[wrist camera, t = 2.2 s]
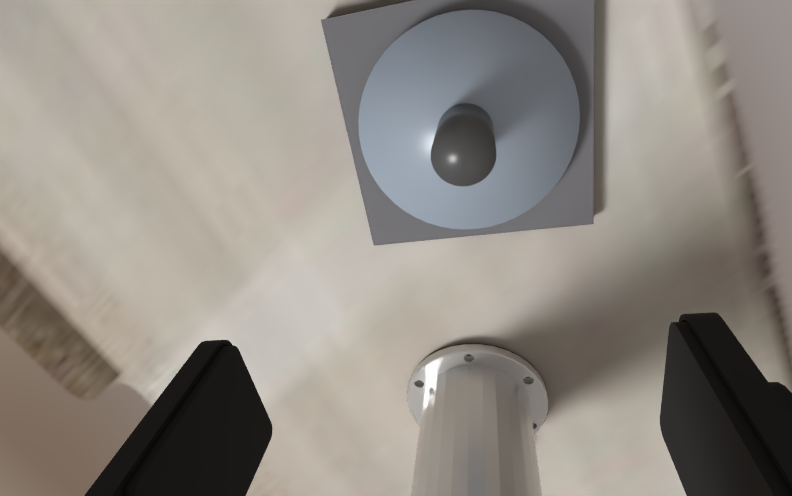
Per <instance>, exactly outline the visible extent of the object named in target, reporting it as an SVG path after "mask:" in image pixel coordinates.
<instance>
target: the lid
mask: <svg viewBox="0 0 792 496" xmlns="http://www.w3.org/2000/svg"><path fill="white" fill-rule="evenodd" d="M579 122H580V109H579V99H578V94H577V90H576V86H575V83H574V80H573V77H572V75H571V72H570V70H569V68H568V66H567V65H566V63H565V61H564V59H563V58H562V56H561V55H560V54H559V52H558V51H557V50H556V48H555V47H554V46H553V45H552V44H551V43H550V42H549V41H548V40H547V39H546V38H545V37H544V36H543V35H542V34H541V33H539V32H538V31H536V30H535V29H533V28H532V27H531V26H529V25H528V24H526V23H524V22H522V21H520V20H518V19H516V18H514V17H511V16H508V15H505V14H502V13H499V12H494V11H487V10H459V11H451V12H448V13H444V14H441V15H437V16H434V17H432V18H430V19H427V20H425V21H423V22H421V23H419V24H418V25H416V26H414V27H413V28H411V29H410V30H408V31H406V32H405V33H404V34H403V35H401V36H400V37H399V38H398V39H397V40H395V41H394V42H393V43H392V44H391V45H390V47H389V48H388V49H387V50H386V51H385V52H384V53H383V55H382V56H381V57H380V59H379V60H378V62H377V63H376V64H375V66H374V68H373V70H372V72H371V74H370V76H369V77H368V80H367V82H366V85H365V88H364V91H363V94H362V98H361V103H360V108H359V119H358V124H359V138H360V144H361V149H362V152H363V156H364V159H365V162H366V164H367V166H368V169H369V171H370V173H371V175H372V176H373V178H374V180H375V181H376V183H377V184H378V186H379V187H380V188H381V190H382V191H383V192H384V193H385V194H386V195H387V196H388V197H389V198H390V199H391V200H392V201H393V202H394V203H395V204H396V205H397V206H399V207H400V208H401V209H402V210H404V211H405V212H407V213H409V214H410V215H412V216H414V217H416V218H418V219H420V220H422V221H424V222H427V223H430V224H433V225H436V226H440V227H445V228H451V229H479V228H485V227H491V226H494V225H498V224H501V223H504V222H507V221H509V220H511V219H514V218H516V217H518V216H519V215H521V214H523V213H525V212H527V211H528V210H529V209H531V208H532V207H534V206H535V205H536V204H538V203H539V202H540V201H541V200H542V199H543V198H544V197H545V196H546V195H547V194H549V192H550V191H551V190H552V189H553V188H554V186H555V185H556V184H557V183H558V181H559V180H560V178H561V177H562V175H563V174H564V172H565V171H566V168H567V166H568V164H569V162H570V160H571V158H572V155H573V152H574V149H575V146H576V143H577V138H578V133H579Z"/></svg>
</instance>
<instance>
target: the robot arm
mask: <svg viewBox="0 0 792 496" xmlns="http://www.w3.org/2000/svg"><path fill="white" fill-rule="evenodd" d="M407 403H408V407H409V411H410V413H411V415H412V417H413V419H414V420H415V421H416V423H417V424H418V425H419V426H420V429H419V437H418V445H417V452H416V460H415V467H414V475H413V483H412V490H411V496H542V493H541V485H540V477H539V469H538V461H537V454H536V446H535V438H534V434H535V433H536V432H537V431H538V430H539V428H540V427H541V426H542V424H543V423H544V421H545V418H546V415H547V412H548V398H547V391H546V388H545V385H544V382H543V380H542V378H541V377H540V375H539V374H538V372H537V371H536V370H535V369H534V368H533V367H532V366H531V365H530V364H529V363H528V362H527V361H525V360H524V359H522V358H521V357H519V356H518V355H516V354H514V353H511V352H509V351H507V350H505V349H501V348H498V347H494V346H489V345H481V344H463V345H457V346H451V347H448V348H445V349H442V350H439V351H437V352H435V353H433V354H432V355H430V356H428V357H427V358H426V359H424V360H423V361H422V362H421V363H420V364H419V365H418V366H417V368H416V369H415V370H414V371H413V374H412V376H411V378H410V380H409V386H408V391H407ZM660 426H661V431H662V435H663V438H664V441H665V443H666V446H667V448H668V450H669V453H670V455H671V458H672V460H673V463H674V465H675V468H676V470H677V473H678V475H679V478H680V480H681V482H682V485H683V487H684V490H685V492H686V495H687V496H792V393H791V392H790V391H789V390H788V389H787V388H786V387H785V386H784V385H782V384H780V383H779V382H768V381H767V380H766V379H765V377H764V376H763V374H762V373H761V372H760V370H759V369H758V368H757V366H756V365H755V363H754V362H753V361H752V359H751V358H750V356H749V355H748V354H747V352H746V351H745V350H744V348H743V347H742V345H741V344H740V343H739V341H738V340H737V338H736V337H735V336H734V334H733V333H732V331H731V330H730V329H729V327H728V326H727V325H726V323H725V322H724V320H723V319H722V318H721V316H720V315H719V314H717V313H697V314H683V315H681V317H680V319H679V322H673V323H671V324H670V327H669V336H668V345H667V355H666V365H665V374H664V384H663V394H662V403H661V413H660ZM271 436H272V424H271V421H270V419H269V417H268V414H267V412H266V410H265V408H264V405H263V403H262V401H261V399H260V396H259V394H258V392H257V390H256V388H255V385H254V383H253V381H252V379H251V376H250V374H249V372H248V370H247V367H246V365H245V363H244V361H243V358H242V356H241V354H240V352H239V350H238V348H237V347H236V346H233V345H232V344H231V342H229V341H228V340H214V341H204V342H201V343H200V344H199V345H198V347H197V348H196V349H195V351H194V352H193V353H192V355H191V356H190V357H189V358H188V360H187V361H186V362H185V364H184V365H183V366H182V368H181V369H180V370H179V372H178V373H177V374H176V376H175V377H174V378H173V380H172V381H171V382H170V384H169V385H168V386H167V387H166V389H165V390H164V391H163V393H162V394H161V395H160V397H159V398H158V399H157V401H156V402H155V403H154V405H153V406H152V407H151V409H150V410H149V411H148V413H147V414H146V415H145V416H144V418H143V419H142V421H141V422H140V423H139V424H138V426H137V427H136V428H135V430H134V431H133V432H132V434H131V435H130V436H129V438H128V439H127V440H126V442H125V443H124V444H123V445H122V447H121V448H120V449H119V451H118V452H117V453H116V455H115V456H114V457H113V459H112V460H111V461H110V463H109V464H108V465H107V467H106V468H105V469H104V471H103V472H102V473H101V474H100V476H99V477H98V478H97V480H96V481H95V482H94V484H93V485H92V486H91V488H90V489H89V490H88V492H87V493H86V494H85V496H246V493H247V491H248V489H249V487H250V484H251V482H252V480H253V478H254V475H255V473H256V471H257V469H258V467H259V464H260V462H261V460H262V458H263V455H264V453H265V451H266V449H267V446H268V444H269V442H270V440H271Z"/></svg>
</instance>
